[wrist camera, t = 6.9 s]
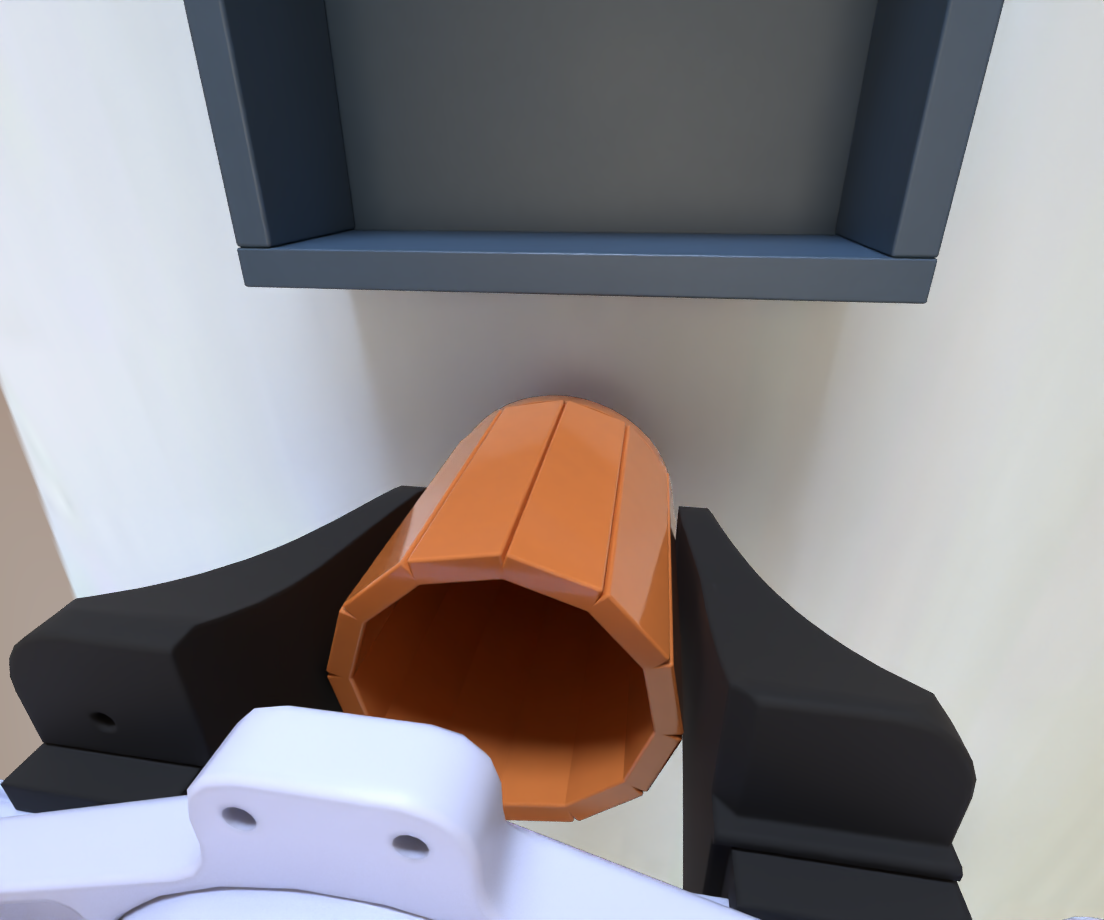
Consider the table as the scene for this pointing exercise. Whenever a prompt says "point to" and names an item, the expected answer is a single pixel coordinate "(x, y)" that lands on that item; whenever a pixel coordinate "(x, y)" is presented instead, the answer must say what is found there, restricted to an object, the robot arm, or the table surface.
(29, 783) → the robot arm
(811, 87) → the dark grey storage bin
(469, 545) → the cup
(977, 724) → the table surface
